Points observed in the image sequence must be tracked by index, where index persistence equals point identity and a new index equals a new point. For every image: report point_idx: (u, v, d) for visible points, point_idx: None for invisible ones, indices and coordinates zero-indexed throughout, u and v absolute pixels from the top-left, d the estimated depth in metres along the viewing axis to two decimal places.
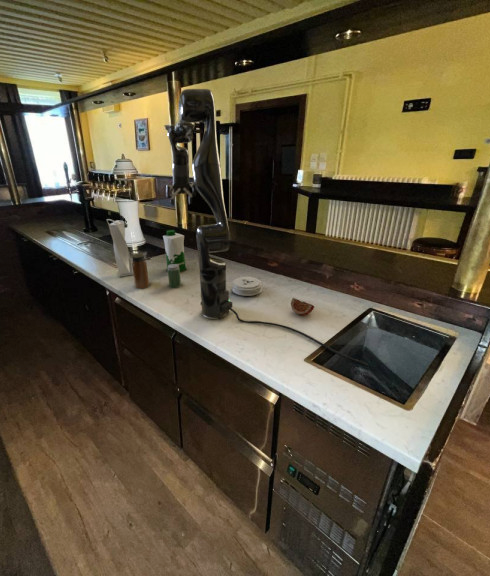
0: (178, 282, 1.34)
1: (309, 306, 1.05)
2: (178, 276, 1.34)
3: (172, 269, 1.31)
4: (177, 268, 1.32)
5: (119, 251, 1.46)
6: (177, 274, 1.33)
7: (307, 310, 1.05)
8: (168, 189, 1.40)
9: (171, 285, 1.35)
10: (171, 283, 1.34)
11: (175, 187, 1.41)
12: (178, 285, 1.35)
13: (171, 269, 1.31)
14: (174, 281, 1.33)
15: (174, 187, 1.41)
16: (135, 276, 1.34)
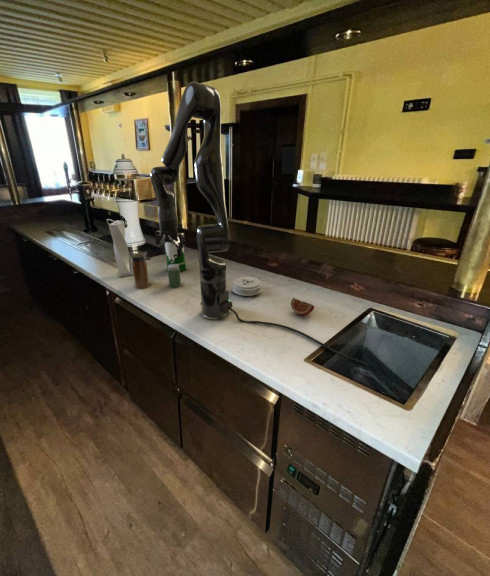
0: (178, 282, 1.34)
1: (309, 306, 1.05)
2: (178, 276, 1.34)
3: (172, 269, 1.31)
4: (177, 268, 1.32)
5: (119, 251, 1.46)
6: (177, 274, 1.33)
7: (307, 310, 1.05)
8: None
9: (171, 285, 1.35)
10: (171, 283, 1.34)
11: None
12: (178, 285, 1.35)
13: (171, 269, 1.31)
14: (174, 281, 1.33)
15: None
16: (135, 276, 1.34)
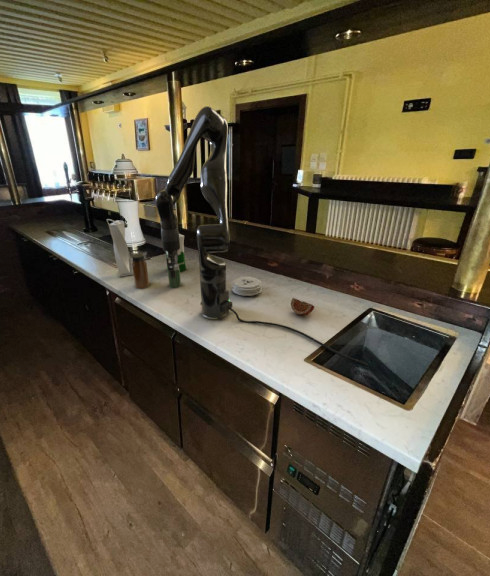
0: (178, 282, 1.34)
1: (309, 306, 1.05)
2: (178, 276, 1.34)
3: None
4: (177, 268, 1.32)
5: (119, 251, 1.46)
6: (177, 274, 1.33)
7: (307, 310, 1.05)
8: None
9: (171, 285, 1.35)
10: (171, 283, 1.34)
11: None
12: (178, 285, 1.35)
13: None
14: (174, 281, 1.33)
15: None
16: (135, 276, 1.34)
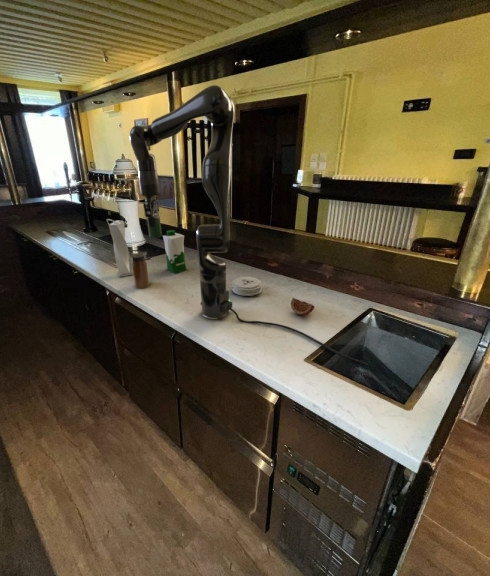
0: (158, 231, 1.26)
1: (309, 306, 1.05)
2: (158, 225, 1.25)
3: None
4: (157, 216, 1.24)
5: (119, 251, 1.46)
6: (157, 222, 1.25)
7: (307, 310, 1.05)
8: None
9: (151, 235, 1.27)
10: (150, 233, 1.26)
11: None
12: (158, 235, 1.27)
13: None
14: (154, 231, 1.25)
15: None
16: (135, 276, 1.34)
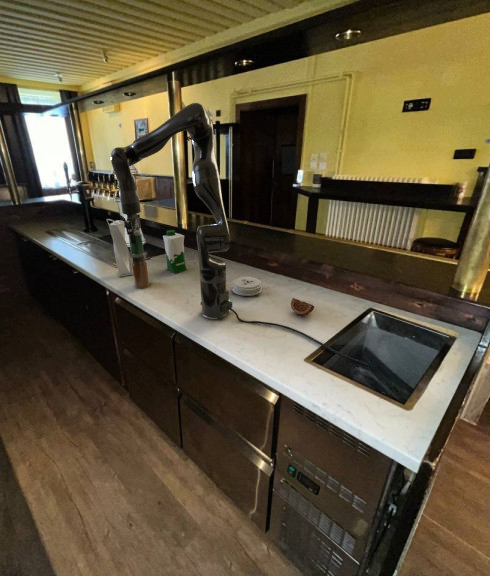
0: (140, 248, 1.29)
1: (309, 306, 1.05)
2: (140, 242, 1.28)
3: None
4: (138, 233, 1.27)
5: (119, 251, 1.46)
6: (139, 239, 1.27)
7: (307, 310, 1.05)
8: None
9: (133, 252, 1.29)
10: (132, 249, 1.29)
11: None
12: (140, 252, 1.30)
13: None
14: (136, 248, 1.28)
15: None
16: (135, 276, 1.34)
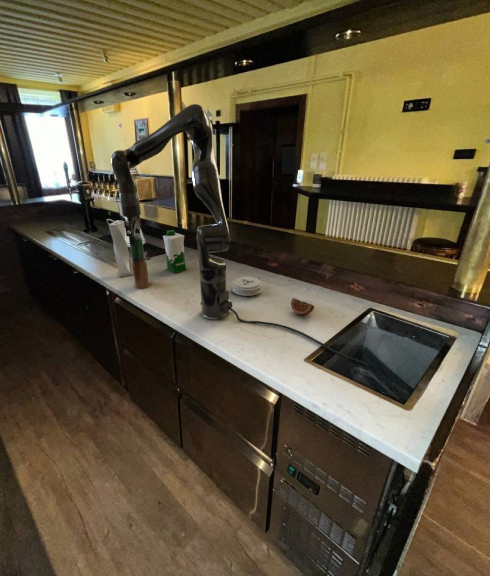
0: (140, 251, 1.30)
1: (309, 306, 1.05)
2: (140, 245, 1.29)
3: None
4: (139, 237, 1.27)
5: (119, 251, 1.46)
6: (139, 243, 1.28)
7: (307, 310, 1.05)
8: None
9: (133, 255, 1.30)
10: (133, 253, 1.29)
11: None
12: (140, 255, 1.30)
13: None
14: (136, 251, 1.29)
15: None
16: (135, 276, 1.34)
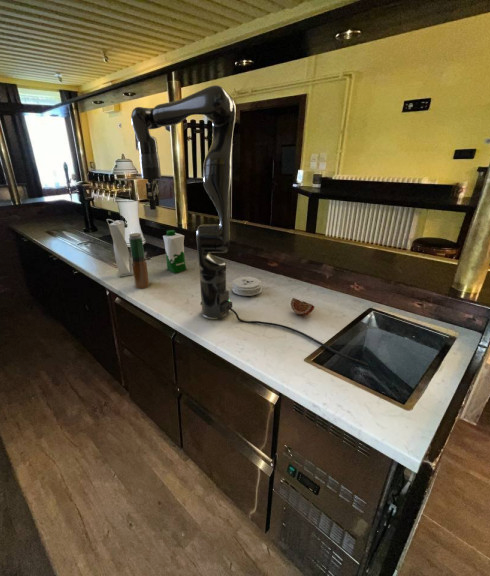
0: (140, 251, 1.30)
1: (309, 306, 1.05)
2: (140, 245, 1.29)
3: (133, 237, 1.27)
4: (139, 237, 1.27)
5: (119, 251, 1.46)
6: (139, 243, 1.28)
7: (307, 310, 1.05)
8: None
9: (133, 255, 1.30)
10: (133, 253, 1.29)
11: None
12: (140, 255, 1.30)
13: (132, 237, 1.27)
14: (136, 251, 1.29)
15: None
16: (135, 276, 1.34)
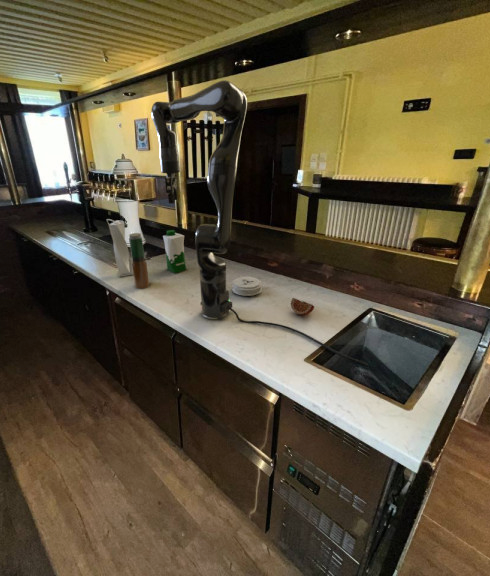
0: (140, 251, 1.30)
1: (309, 306, 1.05)
2: (140, 245, 1.29)
3: (133, 237, 1.27)
4: (139, 237, 1.27)
5: (119, 251, 1.46)
6: (139, 243, 1.28)
7: (307, 310, 1.05)
8: None
9: (133, 255, 1.30)
10: (133, 253, 1.29)
11: None
12: (140, 255, 1.30)
13: (132, 237, 1.27)
14: (136, 251, 1.29)
15: None
16: (135, 276, 1.34)
